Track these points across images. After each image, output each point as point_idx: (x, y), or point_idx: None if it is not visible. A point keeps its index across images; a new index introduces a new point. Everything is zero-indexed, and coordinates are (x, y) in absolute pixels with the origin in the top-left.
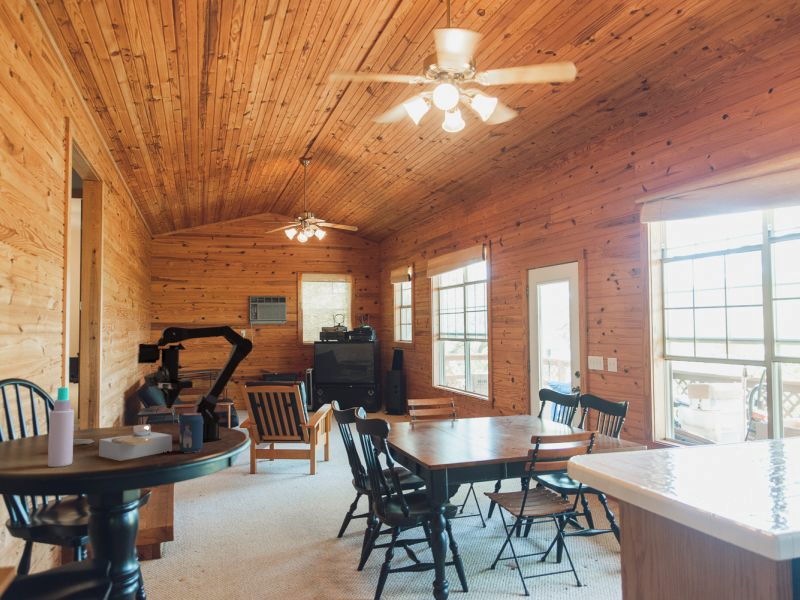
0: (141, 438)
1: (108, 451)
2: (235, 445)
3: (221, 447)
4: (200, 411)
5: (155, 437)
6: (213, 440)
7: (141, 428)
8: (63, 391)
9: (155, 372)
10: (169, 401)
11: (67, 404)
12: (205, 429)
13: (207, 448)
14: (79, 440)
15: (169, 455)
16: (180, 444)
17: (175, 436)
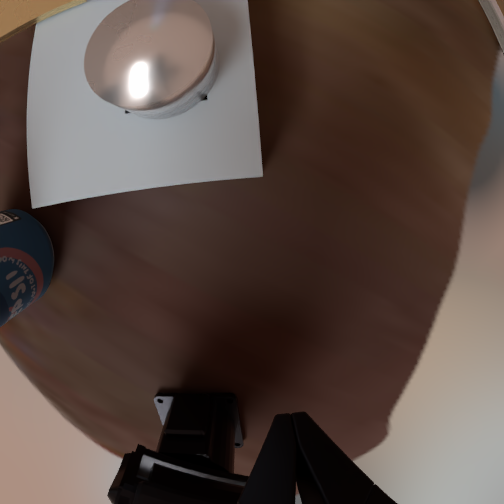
0: (3, 28)
1: None
2: (46, 396)
3: (36, 357)
4: (121, 488)
5: (36, 108)
6: (161, 417)
7: (100, 32)
8: None
9: None
10: (251, 485)
11: None
12: (163, 434)
13: (42, 321)
14: (500, 28)
15: (17, 154)
16: (4, 212)
17: (398, 377)
